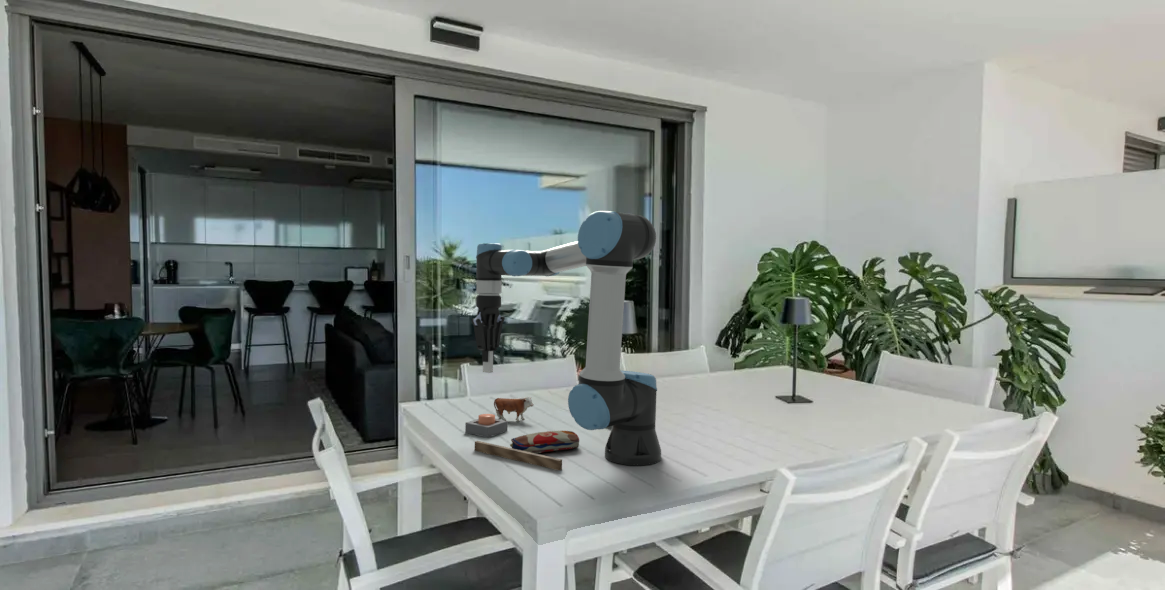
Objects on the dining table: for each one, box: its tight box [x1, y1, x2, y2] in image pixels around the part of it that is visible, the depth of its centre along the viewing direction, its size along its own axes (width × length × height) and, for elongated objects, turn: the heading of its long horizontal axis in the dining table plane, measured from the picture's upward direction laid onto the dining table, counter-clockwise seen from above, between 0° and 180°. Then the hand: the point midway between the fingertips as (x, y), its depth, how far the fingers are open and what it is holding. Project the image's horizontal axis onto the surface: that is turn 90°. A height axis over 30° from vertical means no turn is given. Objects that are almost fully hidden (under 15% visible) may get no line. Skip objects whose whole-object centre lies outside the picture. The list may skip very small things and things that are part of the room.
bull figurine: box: [493, 396, 535, 422], centre depth 203 cm, size 4×13×8 cm, turn 81°
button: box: [477, 413, 496, 425], centre depth 188 cm, size 5×5×4 cm
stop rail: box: [474, 440, 563, 471], centre depth 162 cm, size 28×1×2 cm, turn 58°
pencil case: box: [509, 430, 580, 454], centre depth 170 cm, size 11×20×5 cm, turn 101°
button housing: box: [464, 418, 509, 438], centre depth 188 cm, size 9×9×3 cm
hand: (487, 372), depth 187 cm, fingers closed
